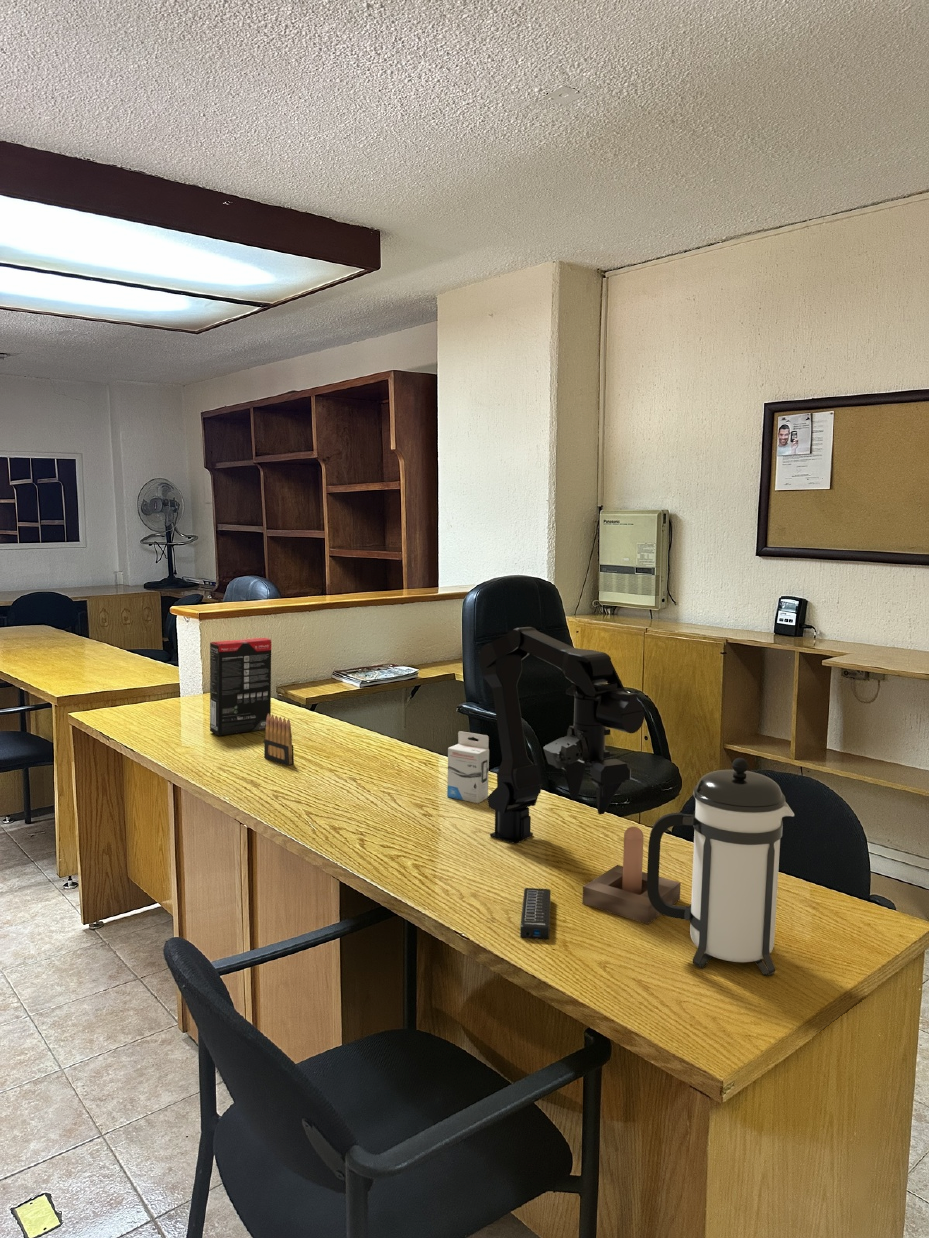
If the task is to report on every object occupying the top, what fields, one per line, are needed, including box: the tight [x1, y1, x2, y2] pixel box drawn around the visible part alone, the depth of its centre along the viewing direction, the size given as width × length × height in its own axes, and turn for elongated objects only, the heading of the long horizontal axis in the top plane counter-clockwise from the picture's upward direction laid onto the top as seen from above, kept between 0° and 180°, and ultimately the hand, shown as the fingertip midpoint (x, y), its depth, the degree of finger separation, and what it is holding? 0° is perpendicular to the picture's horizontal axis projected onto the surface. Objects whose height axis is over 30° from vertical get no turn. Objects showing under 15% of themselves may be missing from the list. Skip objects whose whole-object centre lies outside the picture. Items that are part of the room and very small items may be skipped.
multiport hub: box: [519, 887, 552, 941], centre depth 143 cm, size 4×14×2 cm, turn 174°
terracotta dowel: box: [622, 826, 645, 895], centre depth 149 cm, size 3×3×13 cm
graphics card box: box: [209, 637, 272, 736], centre depth 261 cm, size 17×7×27 cm, turn 130°
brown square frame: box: [582, 864, 682, 925], centre depth 150 cm, size 12×12×3 cm
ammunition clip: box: [263, 713, 295, 767], centre depth 231 cm, size 11×2×12 cm, turn 47°
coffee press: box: [646, 757, 795, 977], centre depth 130 cm, size 17×16×30 cm
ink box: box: [446, 730, 490, 804], centre depth 203 cm, size 8×5×15 cm, turn 60°
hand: (587, 806), depth 162 cm, fingers open, 9 cm apart
